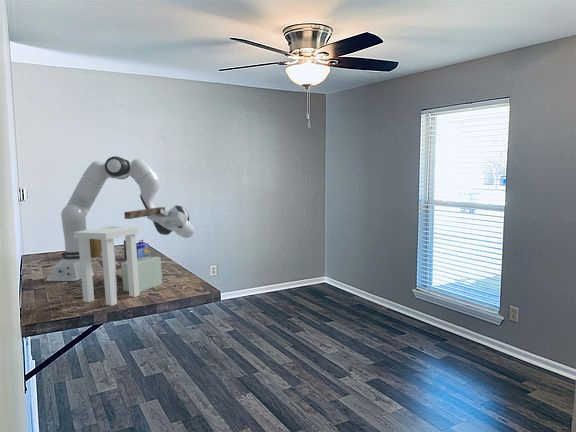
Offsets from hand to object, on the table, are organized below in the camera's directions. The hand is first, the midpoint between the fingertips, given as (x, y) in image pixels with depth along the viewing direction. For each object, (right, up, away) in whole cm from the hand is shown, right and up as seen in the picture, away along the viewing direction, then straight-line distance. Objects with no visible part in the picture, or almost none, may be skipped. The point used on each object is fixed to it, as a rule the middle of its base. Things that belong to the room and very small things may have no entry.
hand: (156, 210), depth 214 cm
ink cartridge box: (-23, -32, +45) cm, 60 cm away
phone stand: (-36, -30, +64) cm, 79 cm away
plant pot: (-64, -30, +76) cm, 104 cm away
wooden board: (-3, -3, -6) cm, 7 cm away
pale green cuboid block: (-4, -36, -7) cm, 37 cm away
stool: (-12, -38, -25) cm, 47 cm away
